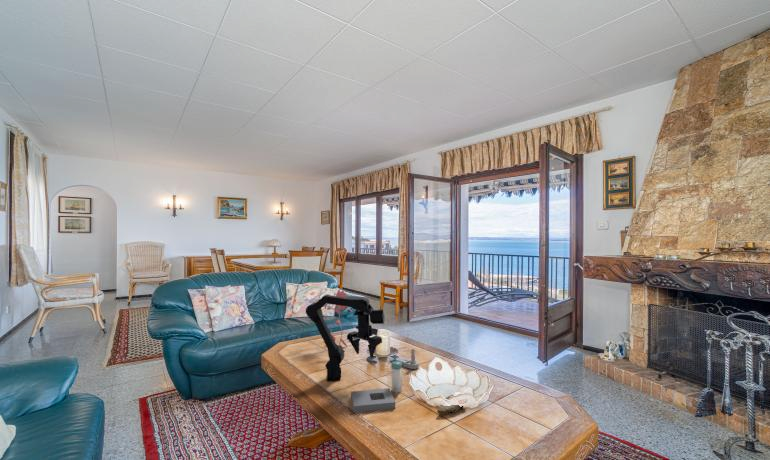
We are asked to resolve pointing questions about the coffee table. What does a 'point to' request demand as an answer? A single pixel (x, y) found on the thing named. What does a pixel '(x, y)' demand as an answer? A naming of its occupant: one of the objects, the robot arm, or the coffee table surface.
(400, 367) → the peg
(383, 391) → the socket board
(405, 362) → the electronic device
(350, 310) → the figurine
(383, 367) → the coffee table surface
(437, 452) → the coffee table surface
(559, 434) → the coffee table surface
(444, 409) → the stone
